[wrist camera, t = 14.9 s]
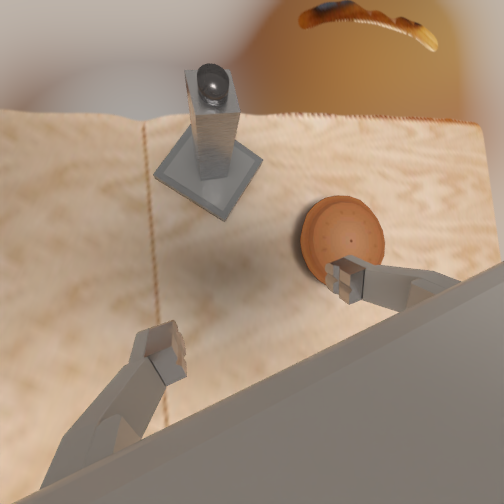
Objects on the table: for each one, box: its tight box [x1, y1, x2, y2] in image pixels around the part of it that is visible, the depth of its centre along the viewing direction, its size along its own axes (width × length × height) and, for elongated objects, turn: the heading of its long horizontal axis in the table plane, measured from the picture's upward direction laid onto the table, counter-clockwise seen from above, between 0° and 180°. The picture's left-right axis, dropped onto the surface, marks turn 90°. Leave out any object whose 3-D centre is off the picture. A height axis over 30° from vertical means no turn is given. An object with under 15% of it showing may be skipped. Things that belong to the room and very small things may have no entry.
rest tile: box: [153, 124, 263, 222], centre depth 30 cm, size 12×12×1 cm
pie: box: [300, 196, 385, 285], centre depth 32 cm, size 15×16×5 cm
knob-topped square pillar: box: [184, 64, 241, 181], centre depth 23 cm, size 4×4×14 cm
